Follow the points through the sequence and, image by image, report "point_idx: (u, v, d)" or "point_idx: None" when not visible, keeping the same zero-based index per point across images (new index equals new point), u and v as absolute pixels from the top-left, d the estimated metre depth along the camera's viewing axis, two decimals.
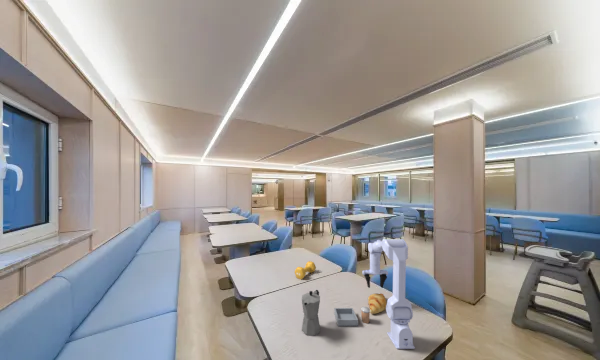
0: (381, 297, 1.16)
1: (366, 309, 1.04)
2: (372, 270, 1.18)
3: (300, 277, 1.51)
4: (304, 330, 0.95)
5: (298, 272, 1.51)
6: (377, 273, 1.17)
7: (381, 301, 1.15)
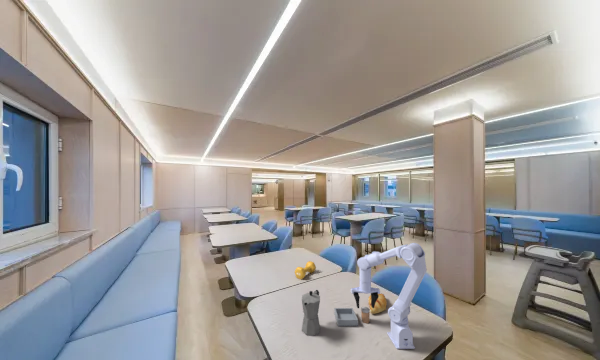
0: (381, 297, 1.16)
1: (366, 309, 1.04)
2: (362, 288, 1.03)
3: (300, 277, 1.51)
4: (304, 330, 0.95)
5: (298, 272, 1.51)
6: (367, 292, 1.02)
7: (381, 301, 1.15)
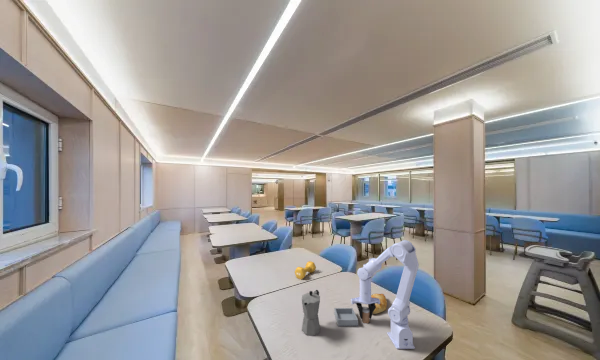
0: (382, 297, 1.16)
1: (366, 309, 1.04)
2: (362, 299, 1.03)
3: (300, 277, 1.51)
4: (304, 330, 0.95)
5: (298, 272, 1.51)
6: (367, 302, 1.02)
7: (381, 301, 1.14)
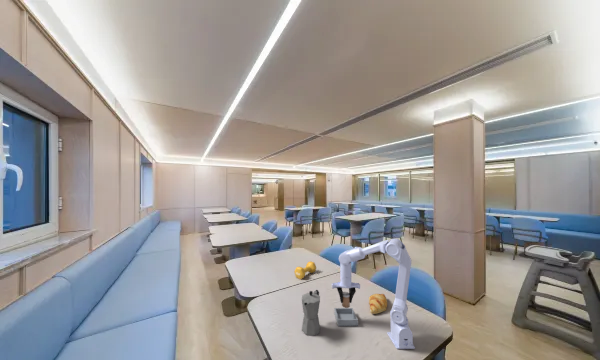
0: (382, 297, 1.16)
1: (347, 294, 1.06)
2: (342, 283, 1.04)
3: (299, 277, 1.51)
4: (304, 330, 0.95)
5: (298, 272, 1.52)
6: (347, 287, 1.03)
7: (382, 301, 1.14)
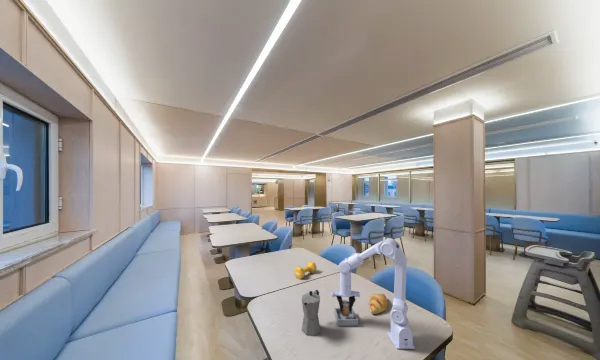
0: (382, 297, 1.16)
1: (346, 302, 1.06)
2: (342, 292, 1.04)
3: (299, 277, 1.51)
4: (304, 330, 0.95)
5: (297, 272, 1.52)
6: (347, 295, 1.03)
7: (382, 301, 1.14)
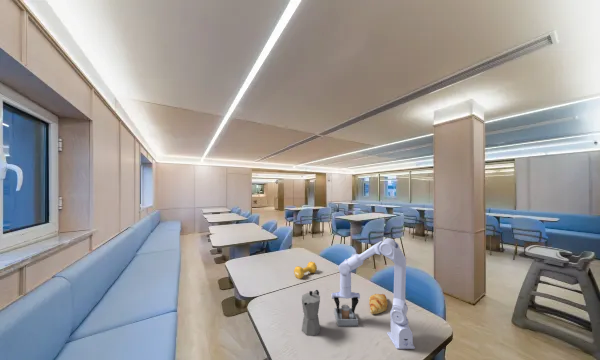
0: (382, 297, 1.16)
1: (346, 307, 1.05)
2: (342, 293, 1.04)
3: (298, 277, 1.51)
4: (304, 330, 0.95)
5: (296, 272, 1.53)
6: (347, 297, 1.03)
7: (382, 301, 1.14)
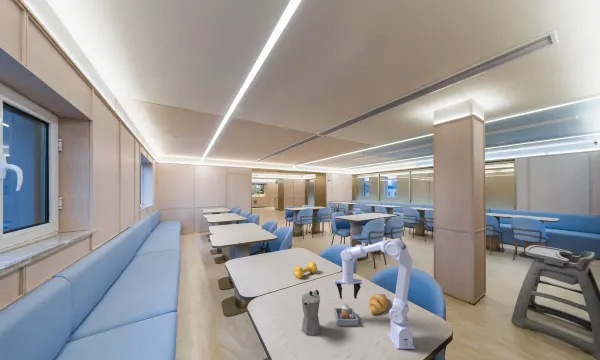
0: (382, 298, 1.16)
1: (346, 307, 1.05)
2: (344, 279, 1.06)
3: (297, 276, 1.52)
4: (304, 330, 0.95)
5: (296, 271, 1.53)
6: (349, 283, 1.05)
7: (382, 302, 1.14)
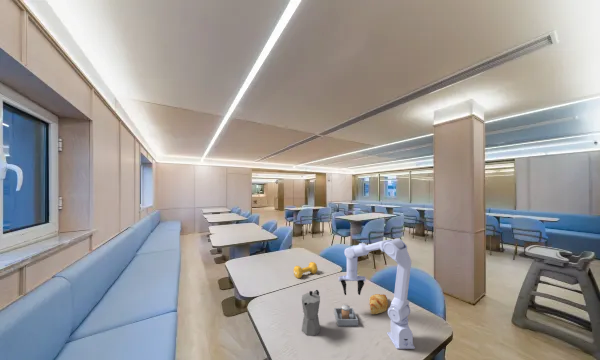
0: (382, 298, 1.16)
1: (346, 307, 1.05)
2: (348, 276, 1.10)
3: (297, 276, 1.52)
4: (304, 330, 0.95)
5: (295, 271, 1.54)
6: (354, 279, 1.09)
7: (382, 302, 1.14)
